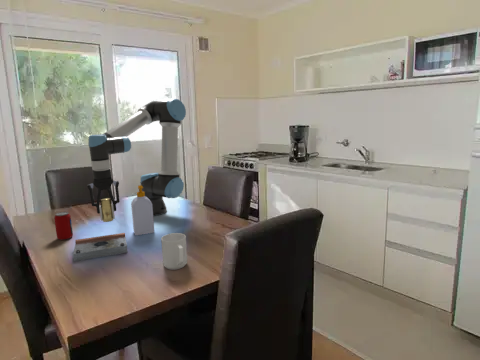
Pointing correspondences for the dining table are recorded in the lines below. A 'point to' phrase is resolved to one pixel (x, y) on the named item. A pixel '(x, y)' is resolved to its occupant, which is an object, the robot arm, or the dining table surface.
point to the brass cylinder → (106, 210)
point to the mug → (174, 251)
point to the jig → (100, 246)
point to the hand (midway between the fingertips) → (107, 218)
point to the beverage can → (63, 225)
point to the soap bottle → (142, 214)
